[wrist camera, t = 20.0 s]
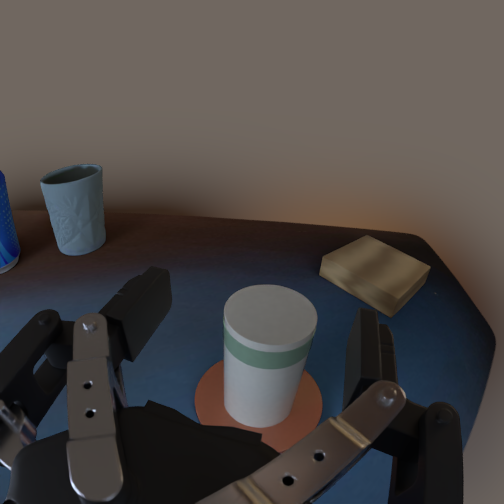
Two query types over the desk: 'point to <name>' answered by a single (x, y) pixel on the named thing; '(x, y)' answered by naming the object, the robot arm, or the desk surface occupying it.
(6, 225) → the beer can
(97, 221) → the embossed ceramic tumbler
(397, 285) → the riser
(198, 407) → the coaster
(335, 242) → the desk surface
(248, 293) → the canister
